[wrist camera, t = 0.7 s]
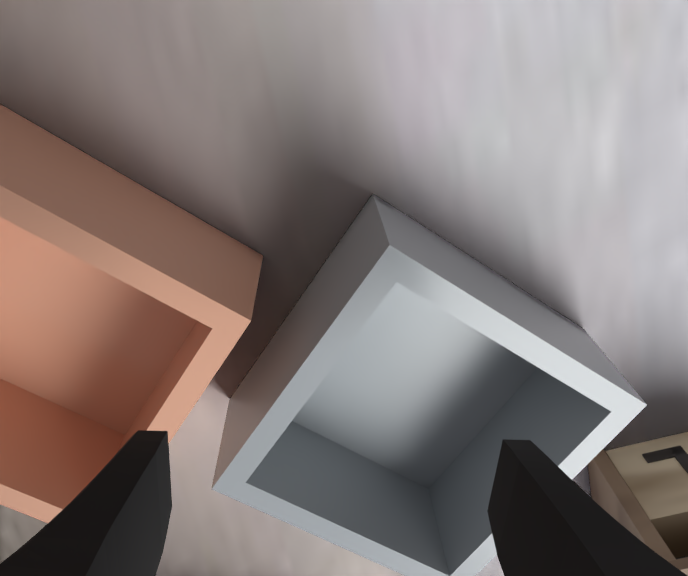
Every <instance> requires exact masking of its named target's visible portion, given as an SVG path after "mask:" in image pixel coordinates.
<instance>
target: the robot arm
mask: <svg viewBox="0 0 688 576" xmlns="http://www.w3.org/2000/svg"><path fill="white" fill-rule="evenodd" d="M171 508H172V498H171V481H170V464H169V446H168V431H147V430H138V431H137V432H136V433H134V434H133V435H132V436H131V437H130V439H129V440H128V441H127V442H126V443H125V444H124V445H123V447H122V448H121V449H120V450H119V451H118V452H117V453H116V455H115V456H114V457H113V458H112V459H111V460H110V461H109V462H108V463H107V465H106V466H105V467H104V468H103V469H102V470H101V471H100V472H99V473H98V474H97V475H96V476H95V478H94V479H93V480H92V481H91V482H90V483H89V484H88V485H87V486H86V487H85V488H84V489H83V490H82V491H81V492H80V493H79V494H78V495H77V496H76V497H75V498H74V499H73V500H72V501H71V502H70V503H69V504H68V505H67V506H66V507H65V508H64V509H63V510H62V511H61V512H60V513H59V514H57V515H56V516H55V517H54V518H53V519H52V520H51V521H50V522H49V523H48V524H47V525H46V526H45V527H44V528H43V529H41V530H40V531H39V532H38V533H37V534H36V535H35V536H34V537H32V538H31V539H30V540H29V541H28V542H27V543H25V544H24V545H23V546H22V547H21V548H19V549H18V550H17V551H16V552H15V553H13V554H12V555H11V556H10V557H8V558H7V559H6V560H5V561H3V562H2V563H1V564H0V576H155V575H156V571H157V568H158V565H159V562H160V559H161V556H162V553H163V548H164V543H165V539H166V534H167V529H168V524H169V519H170V513H171ZM487 512H488V517H489V521H490V526H491V531H492V535H493V539H494V543H495V548H496V552H497V556H498V559H499V561H500V564H501V567H502V570H503V573H504V576H687V575H686V574H685V573H683V572H682V571H680V570H679V569H678V568H676V567H675V566H674V565H672V564H671V563H669V562H668V561H667V560H665V559H664V558H663V557H661V556H660V555H658V554H657V553H656V552H655V551H653V550H652V549H651V548H649V547H648V546H647V545H645V544H644V543H643V542H642V541H640V540H639V539H638V538H637V537H636V536H634V535H633V534H632V533H631V532H630V531H628V530H627V529H626V528H625V527H624V526H622V525H621V524H620V523H619V522H618V521H616V520H615V519H614V518H613V517H612V516H611V515H610V514H608V513H607V512H606V511H605V510H604V509H603V508H602V507H601V506H599V505H598V504H597V503H596V502H595V501H594V500H593V499H592V498H591V497H590V496H589V495H587V494H586V493H585V492H584V491H583V490H582V489H581V488H580V487H579V486H578V485H577V484H576V483H575V482H574V481H573V480H572V479H570V478H569V477H568V476H567V475H566V474H565V473H564V472H563V471H562V470H561V469H560V468H559V467H558V466H557V465H556V464H555V463H554V462H553V461H552V460H551V459H550V458H549V457H548V456H547V455H546V454H545V453H544V452H543V451H541V450H540V449H539V448H538V447H537V446H536V445H535V444H534V443H533V442H532V441H531V440H509V439H503V441H502V445H501V450H500V455H499V459H498V464H497V468H496V473H495V478H494V482H493V487H492V491H491V496H490V501H489V505H488V510H487Z"/></svg>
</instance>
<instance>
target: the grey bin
mask: <svg viewBox="0 0 688 576" xmlns="http://www.w3.org/2000/svg"><path fill="white" fill-rule="evenodd" d="M646 406H647V404H646V403H645V402H644V400H643V399H642V398H641V397H640V396H639V394H638V393H637V392H636V391H635V390H634V388H633V387H632V386H631V385H630V384H629V383H628V381H627V380H626V379H625V378H624V377H623V375H622V374H621V373H620V372H619V371H618V369H617V368H616V367H615V366H614V365H613V363H612V362H611V361H610V360H609V359H608V357H607V356H606V355H605V354H604V353H603V352H602V350H601V349H600V348H599V347H598V346H597V344H596V343H595V342H594V341H593V340H592V338H591V337H590V336H589V335H588V334H587V332H586V331H585V330H584V329H583V328H581V327H580V326H578V325H577V324H575V323H573V322H572V321H570V320H569V319H567V318H566V317H564V316H563V315H561V314H559V313H558V312H556V311H555V310H553V309H552V308H550V307H549V306H547V305H545V304H544V303H542V302H541V301H539V300H538V299H536V298H535V297H533V296H531V295H530V294H528V293H527V292H525V291H524V290H522V289H520V288H519V287H517V286H516V285H514V284H513V283H511V282H510V281H508V280H506V279H505V278H503V277H502V276H500V275H499V274H497V273H496V272H494V271H492V270H491V269H489V268H488V267H486V266H485V265H483V264H482V263H480V262H478V261H477V260H475V259H474V258H472V257H471V256H469V255H468V254H466V253H464V252H463V251H461V250H460V249H458V248H457V247H455V246H454V245H452V244H450V243H449V242H447V241H446V240H444V239H443V238H441V237H440V236H438V235H436V234H435V233H433V232H432V231H430V230H429V229H427V228H426V227H424V226H422V225H421V224H419V223H418V222H416V221H415V220H413V219H412V218H410V217H408V216H407V215H405V214H404V213H402V212H401V211H399V210H398V209H396V208H394V207H393V206H391V205H390V204H388V203H387V202H385V201H384V200H382V199H380V198H379V197H377V196H376V195H374V194H372V195H371V197H370V198H369V200H368V201H367V202H366V204H365V205H364V207H363V208H362V210H361V211H360V213H359V214H358V215H357V217H356V218H355V220H354V221H353V223H352V224H351V225H350V227H349V228H348V230H347V231H346V233H345V234H344V236H343V237H342V238H341V240H340V241H339V243H338V244H337V246H336V247H335V248H334V250H333V251H332V253H331V254H330V256H329V257H328V259H327V260H326V261H325V263H324V264H323V266H322V267H321V269H320V270H319V272H318V273H317V274H316V276H315V277H314V279H313V280H312V282H311V283H310V284H309V286H308V287H307V289H306V290H305V292H304V293H303V295H302V296H301V297H300V299H299V300H298V302H297V303H296V305H295V306H294V308H293V309H292V310H291V312H290V313H289V315H288V316H287V318H286V319H285V320H284V322H283V323H282V325H281V326H280V328H279V329H278V331H277V332H276V333H275V335H274V336H273V338H272V339H271V341H270V342H269V343H268V345H267V346H266V348H265V349H264V351H263V352H262V354H261V355H260V356H259V358H258V359H257V361H256V362H255V364H254V365H253V367H252V368H251V369H250V371H249V372H248V374H247V375H246V377H245V378H244V379H243V381H242V382H241V384H240V385H239V387H238V388H237V390H236V391H235V392H234V394H233V395H232V397H231V398H230V400H229V405H228V410H227V415H226V420H225V425H224V430H223V435H222V440H221V445H220V450H219V455H218V460H217V465H216V470H215V475H214V479H213V484H212V490H215V491H217V492H219V493H221V494H224V495H226V496H228V497H230V498H233V499H235V500H237V501H239V502H241V503H244V504H246V505H248V506H250V507H253V508H255V509H257V510H259V511H262V512H264V513H266V514H268V515H271V516H273V517H275V518H277V519H279V520H282V521H284V522H286V523H288V524H291V525H293V526H295V527H297V528H300V529H302V530H304V531H306V532H308V533H311V534H313V535H315V536H317V537H320V538H322V539H324V540H326V541H329V542H331V543H333V544H335V545H338V546H340V547H342V548H344V549H346V550H349V551H351V552H353V553H355V554H358V555H360V556H362V557H364V558H367V559H369V560H371V561H373V562H376V563H378V564H380V565H382V566H384V567H387V568H389V569H391V570H393V571H396V572H398V573H400V574H402V575H405V576H476V575H477V574H478V573H479V572H480V571H481V570H482V569H483V568H484V567H485V566H486V565H487V564H488V563H489V562H490V561H491V560H492V559H493V558H494V557H495V556H496V555H497V552H496V548H495V543H494V539H493V535H492V531H491V526H490V521H489V517H488V512H487V510H488V505H489V501H490V496H491V491H492V487H493V482H494V478H495V473H496V468H497V464H498V459H499V455H500V450H501V445H502V441H503V439H509V440H531V441H532V442H533V443H534V444H535V445H536V446H537V447H538V448H539V449H540V450H541V451H543V452H544V453H545V454H546V455H547V456H548V457H549V458H550V459H551V460H552V461H553V462H554V463H555V464H556V465H557V466H558V467H559V468H560V469H561V470H562V471H563V472H564V473H565V474H566V475H567V476H568V477H569V478H570V479H573V478H574V477H575V476H576V475H577V474H578V473H579V472H580V471H581V470H582V469H583V468H584V467H585V466H586V465H587V464H588V463H589V462H590V461H591V460H592V459H593V458H594V457H595V456H596V455H597V454H598V453H599V452H600V451H601V450H602V449H603V448H604V447H605V446H606V445H607V444H608V443H609V442H610V441H611V440H612V439H613V438H614V437H615V436H616V435H617V434H618V433H619V432H620V431H622V430H623V429H624V428H625V427H626V426H627V425H628V424H629V423H630V422H631V421H632V420H633V419H634V418H635V417H636V416H637V415H638V414H639V413H640V412H641V411H642V410H643V409H644V408H645V407H646Z"/></svg>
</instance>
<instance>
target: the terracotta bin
mask: <svg viewBox="0 0 688 576" xmlns="http://www.w3.org/2000/svg"><path fill="white" fill-rule="evenodd" d="M262 259H263V255H261V254H259V253H258V252H256V251H254V250H253V249H251V248H249V247H247V246H246V245H244V244H242V243H240V242H239V241H237V240H235V239H233V238H232V237H230V236H228V235H227V234H225V233H223V232H221V231H220V230H218V229H216V228H214V227H213V226H211V225H209V224H207V223H206V222H204V221H202V220H200V219H199V218H197V217H195V216H194V215H192V214H190V213H188V212H187V211H185V210H183V209H181V208H180V207H178V206H176V205H174V204H173V203H171V202H169V201H168V200H166V199H164V198H162V197H161V196H159V195H157V194H155V193H154V192H152V191H150V190H148V189H147V188H145V187H143V186H141V185H140V184H138V183H136V182H135V181H133V180H131V179H129V178H128V177H126V176H124V175H122V174H121V173H119V172H117V171H115V170H114V169H112V168H110V167H108V166H107V165H105V164H103V163H102V162H100V161H98V160H96V159H95V158H93V157H91V156H89V155H88V154H86V153H84V152H82V151H81V150H79V149H77V148H76V147H74V146H72V145H70V144H69V143H67V142H65V141H63V140H62V139H60V138H58V137H56V136H55V135H53V134H51V133H49V132H48V131H46V130H44V129H43V128H41V127H39V126H37V125H36V124H34V123H32V122H30V121H29V120H27V119H25V118H23V117H22V116H20V115H18V114H17V113H15V112H13V111H11V110H10V109H8V108H6V107H4V106H3V105H1V104H0V504H1V505H3V506H6V507H8V508H11V509H13V510H16V511H18V512H21V513H23V514H26V515H28V516H31V517H33V518H36V519H39V520H41V521H44V522H46V523H49V522H50V521H51V520H52V519H53V518H54V517H55V516H56V515H57V514H59V513H60V512H61V511H62V510H63V509H64V508H65V507H66V506H67V505H68V504H69V503H70V502H71V501H72V500H73V499H74V498H75V497H76V496H77V495H78V494H79V493H80V492H81V491H82V490H83V489H84V488H85V487H86V486H87V485H88V484H89V483H90V482H91V481H92V480H93V479H94V478H95V476H96V475H97V474H98V473H99V472H100V471H101V470H102V469H103V468H104V467H105V466H106V465H107V463H108V462H109V461H110V460H111V459H112V458H113V457H114V456H115V455H116V453H117V452H118V451H119V450H120V449H121V448H122V447H123V445H124V444H125V443H126V442H127V441H128V440H129V439H130V437H131V436H132V435H133V434H134V433H136V432H137V431H138V430H147V431H168V444H169V442H170V441H171V439H172V438H173V436H174V435H175V434H176V432H177V431H178V429H179V428H180V426H181V425H182V423H183V422H184V420H185V419H186V417H187V416H188V414H189V413H190V411H191V410H192V408H193V407H194V405H195V404H196V402H197V401H198V399H199V398H200V396H201V395H202V393H203V392H204V390H205V389H206V387H207V386H208V384H209V383H210V381H211V380H212V378H213V377H214V375H215V374H216V373H217V371H218V370H219V368H220V367H221V365H222V364H223V362H224V361H225V359H226V358H227V356H228V355H229V353H230V352H231V350H232V349H233V347H234V346H235V344H236V343H237V341H238V340H239V338H240V337H241V335H242V334H243V332H244V331H245V329H246V328H247V326H248V325H249V323H250V322H251V319H252V314H253V308H254V303H255V297H256V292H257V287H258V281H259V276H260V270H261V265H262Z"/></svg>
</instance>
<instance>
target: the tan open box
mask: <svg viewBox="0 0 688 576" xmlns="http://www.w3.org/2000/svg"><path fill="white" fill-rule="evenodd" d="M588 471H589V480H590V489H591V498H592V499H593V500H594V501H595V502H596V503H597V504H598V505H599V506H601V507H602V508H603V509H604V510H605V511H606V512H607V513H608V514H610V515H611V516H612V517H613V518H614V519H615V520H616V521H618V522H619V523H620V524H621V525H622V526H624V527H625V528H626V529H627V530H628V531H630V532H631V533H632V534H633V535H634V536H636V537H637V538H638V539H639V540H640V541H642V542H643V543H644V544H645V545H647V546H648V547H649V548H651V549H652V550H653V551H655V552H656V553H657V554H658V555H660V556H661V557H663V558H664V559H665V560H667V561H668V562H669V563H671V564H672V565H674V566H675V567H676V568H678V569H679V570H680V571H682V572H683V573H685V574H686V575H687V576H688V557H686V558H681V559H677V560H676V559H675V557H674V556H673V554H672V553H671V551H670V549H669V548H668V546H667V545H666V543H665V542H664V540H663V539H662V537H661V536H660V534H659V533H658V531H657V530H656V528H655V527H654V525H653V524H652V522H651V521H650V519H649V518H648V516H647V515H646V513H645V512H644V510H643V508H642V507H641V505H640V504H639V502H638V501H637V499H636V498H635V496H634V495H633V493H632V492H631V490H630V489H629V487H628V486H627V484H626V483H625V481H624V480H623V478H622V477H621V475H620V474H619V472H618V470H617V469H616V467H615V466H614V464H613V463H612V461H611V460H610V458H609V457H608V455H607V454H606V452H605V451H604V449H602V450H601V451H600V452H599V453H598V454H597V455H596V456H595V457H594V458H593V459H592V460H591V461H590V462H589V463H588Z"/></svg>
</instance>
